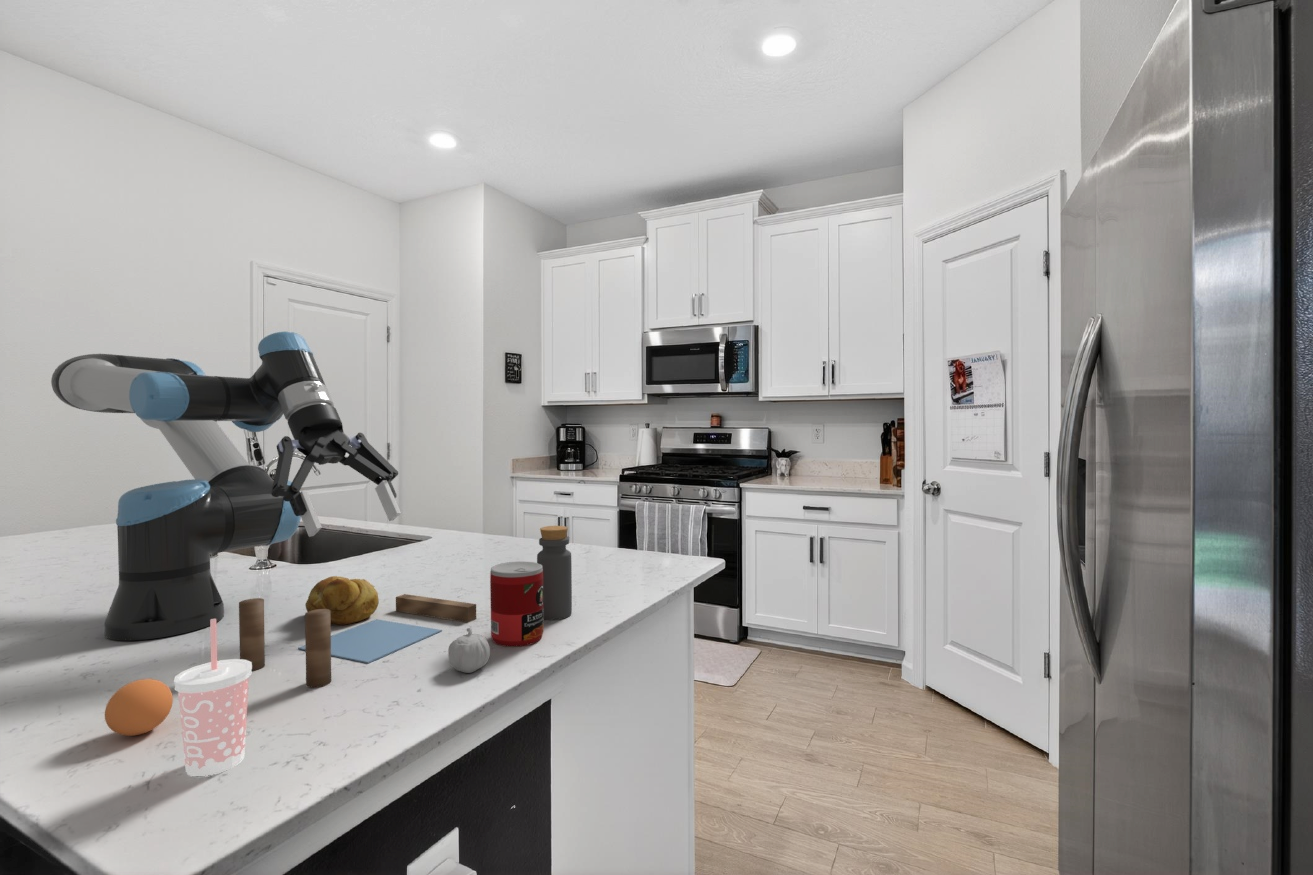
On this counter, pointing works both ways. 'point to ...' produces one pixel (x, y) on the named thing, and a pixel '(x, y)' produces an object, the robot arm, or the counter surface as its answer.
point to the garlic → (469, 652)
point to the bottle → (556, 572)
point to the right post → (318, 647)
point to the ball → (138, 707)
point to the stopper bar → (436, 607)
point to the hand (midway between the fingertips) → (357, 524)
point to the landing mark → (376, 640)
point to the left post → (252, 632)
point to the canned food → (516, 603)
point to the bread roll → (344, 599)
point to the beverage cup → (213, 712)
